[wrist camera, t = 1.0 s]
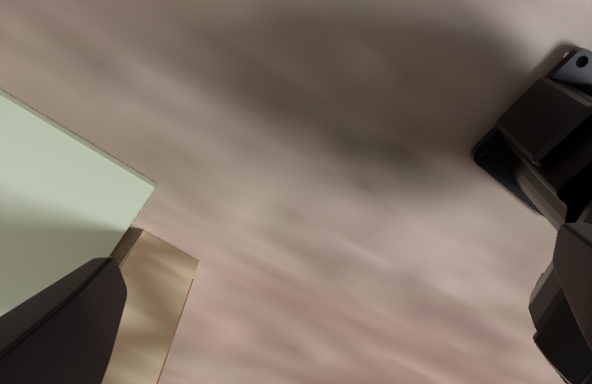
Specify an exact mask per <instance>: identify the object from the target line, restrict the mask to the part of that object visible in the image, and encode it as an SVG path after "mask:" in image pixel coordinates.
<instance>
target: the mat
mask: <svg viewBox="0 0 592 384" xmlns="http://www.w3.org/2000/svg"><path fill="white" fill-rule="evenodd" d="M156 185H157V183H155V182H153V181H152V180H150V179H148V178H147V177H145V176H143V175H142V174H140V173H138V172H137V171H135V170H133V169H132V168H130V167H128V166H127V165H125V164H123V163H122V162H120V161H118V160H117V159H115V158H113V157H112V156H110V155H108V154H107V153H105V152H103V151H102V150H100V149H99V148H97V147H95V146H94V145H92V144H90V143H89V142H87V141H85V140H84V139H82V138H80V137H79V136H77V135H75V134H74V133H72V132H70V131H69V130H67V129H65V128H64V127H62V126H60V125H59V124H57V123H55V122H54V121H52V120H50V119H49V118H47V117H45V116H44V115H42V114H40V113H39V112H37V111H36V110H34V109H32V108H31V107H29V106H27V105H26V104H24V103H22V102H21V101H19V100H17V99H16V98H14V97H12V96H11V95H9V94H7V93H6V92H4V91H2V90H1V89H0V316H2V315H3V314H5V313H7V312H8V311H10V310H11V309H13V308H15V307H16V306H18V305H19V304H21V303H23V302H24V301H26V300H27V299H29V298H31V297H32V296H34V295H35V294H37V293H39V292H40V291H42V290H43V289H45V288H47V287H48V286H50V285H51V284H53V283H55V282H56V281H58V280H59V279H61V278H63V277H64V276H66V275H67V274H69V273H71V272H72V271H74V270H75V269H77V268H79V267H80V266H82V265H83V264H85V263H87V262H88V261H90V260H91V259H93V258H100V257H109V256H110V254H111V253H112V251H113V250H114V248H115V247H116V245H117V244H118V242H119V241H120V239H121V238H122V236H123V235H124V233H125V232H126V230H127V229H128V227H129V226H130V224H131V223H132V221H133V220H134V218H135V217H136V215H137V214H138V212H139V211H140V209H141V208H142V207H143V205H144V204H145V202H146V201H147V199H148V198H149V196H150V195H151V193H152V192H153V190H154V189H155V187H156Z"/></svg>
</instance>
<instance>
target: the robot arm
mask: <svg viewBox="0 0 592 384" xmlns="http://www.w3.org/2000/svg"><path fill="white" fill-rule="evenodd" d="M581 56H583V57H584V58H583V61H582V63H581V64H579V65H576V61H577V59H578V58H579V57H581ZM482 151H487V153H486V155H485V156H483V157H479V154H480V153H481V152H482ZM471 157H472V158H473V160H474V161H475V162H476V163H477V164H478V165H479V166H480V167H482V168H483V169H484V170H485V171H487V172H488V173H489V174H491V175H492V176H493V177H494V178H496V179H497V180H498V181H499V182H501V183H502V184H503V185H505V186H506V187H507V188H508V189H510V190H511V191H512V192H513V193H515V194H516V195H517V196H519V197H520V198H521V199H522V200H524V201H525V202H526V203H527V204H529V205H530V206H531V207H533V208H534V209H535V210H536V211H538V212H539V213H540V214H541V215H543V216H544V217H545V218H546V219H547V220H548V221H549V222H550V223H551V224H552V226H553V227H554V228H555V229H556V230H557V231H558V233H557V238H556V243H555V249H554V254H553V260H552V261H551V263H550V265H549V266H548V268H547V269H546V271H545V272H544V273H543V274H542V275H541V276H540V278H539V280H538V281H537V283H536V287H535V288H534V290H533V292H532V293H531V297H530V302H529V307H528V308H529V311H530V314H531V317H532V320H533V323H534V326H535V328H536V330H537V331H536V332H535V334H534V336H533V339H534V342H535V344H536V346H537V347H538V349H539V350H540V351H541V353H542V354H543V356H544V357H545V358H546V360H547V361H548V362H549V364H550V365H551V366H552V367H553V368H554V369H555V370H556V372H557V373H558V374H559V375H560V377H561V378H562V379H563V380H564V381H565V383H566V384H592V52H591V51H589V50H587V49H584V48H577V49H574V50H573V51H572V52H570V53H569V54H568V55H567V56H566V57H565V58H564V59H563V60H562V61H561V62H560V63H559V64H558V65H557V66H556V67H555V68H554V69H553V70H552V71H551V72H550V73H549V74H548V75H547V76H546V77H545V78H542V79H539V80H538V81H537V82H536V83H535V84H534V85H533V86H532V87H531V88H530V89H529V90H528V91H527V92H526V93H525V94H523V95H522V96H521V97H520V98H519V99H518V100H517V101H516V102H515V103H514V104H513V105H512V106H511V107H510V108H509V109H508V110H507V111H506V112H505V113H504V114H503V115H502V116H501V117H500V118H499V119H498V121H497V125H496V126H495V127H494V128H492V129H491V130H490V131H489V132H488V133H487V134H486V135H485V136H484V137H483V138H482V139H481V140H480V141H479V142H478V143H477V144H476V145H475V146H474V147H473V149H472V151H471ZM126 300H127V287H126V284H125V281H124V278H123V276H122V273H121V270H120V268H119V265H118V263H117V261H116V259H115V258H113V257H100V258H93V259H91V260H90V261H88V262H87V263H85V264H83V265H82V266H80V267H79V268H77V269H75V270H74V271H72V272H71V273H69V274H67V275H66V276H64V277H63V278H61V279H59V280H58V281H56V282H55V283H53V284H51V285H50V286H48V287H47V288H45V289H43V290H42V291H40V292H39V293H37V294H35V295H34V296H32V297H31V298H29V299H27V300H26V301H24V302H23V303H21V304H19V305H18V306H16V307H15V308H13V309H11V310H10V311H8V312H7V313H5V314H3V315H2V316H0V384H101V383H102V381H103V378H104V376H105V373H106V370H107V367H108V365H109V362H110V358H111V355H112V352H113V348H114V344H115V341H116V337H117V333H118V329H119V326H120V322H121V318H122V314H123V311H124V307H125V303H126Z"/></svg>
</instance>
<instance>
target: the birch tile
mask: <svg viewBox="0 0 592 384" xmlns="http://www.w3.org/2000/svg"><path fill="white" fill-rule="evenodd" d="M198 262H199V260H197V259H195V258H194V257H192V256H190V255H188V254H187V253H185V252H183V251H181V250H179V249H178V248H176V247H174V246H172V245H171V244H169V243H167V242H165V241H164V240H162V239H160V238H158V237H157V236H155V235H153V234H151V233H150V232H148V231H146V230H143V232H142V233H141V234H140V236H139V237H138V239H137V240H136V242H135V243H134V245H133V246H132V247H131V249H130V250H129V252H128V253H127V255H126V256H125V258H124V259H123V260H122V262H121V263H120V265H119V268H120V270H121V273H122V276H123V278H124V281H125V284H126V287H127V300H126V303H125V307H124V311H123V314H122V318H121V322H120V326H119V329H118V333H117V337H116V341H115V344H114V348H113V352H112V355H111V358H110V362H109V365H108V367H107V370H106V373H105V376H104V378H103V381H102V383H101V384H158V382H159V379H160V376H161V373H162V370H163V367H164V364H165V361H166V358H167V355H168V353H169V350H170V347H171V344H172V341H173V338H174V335H175V332H176V329H177V326H178V323H179V320H180V317H181V315H182V312H183V309H184V306H185V303H186V300H187V297H188V294H189V291H190V288H191V285H192V282H193V276H194V273H195V270H196V268H197V265H198Z"/></svg>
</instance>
